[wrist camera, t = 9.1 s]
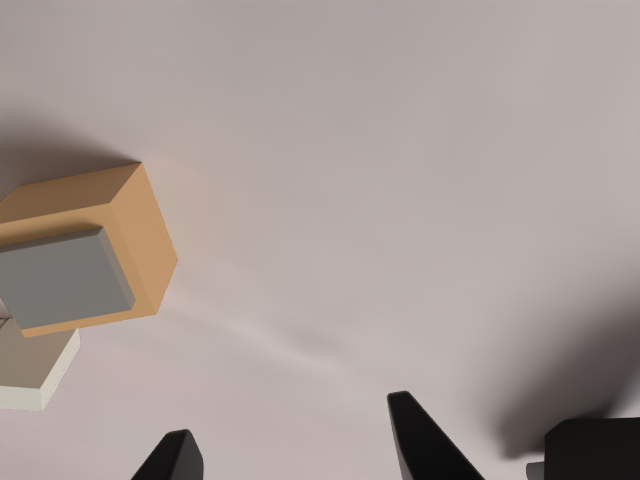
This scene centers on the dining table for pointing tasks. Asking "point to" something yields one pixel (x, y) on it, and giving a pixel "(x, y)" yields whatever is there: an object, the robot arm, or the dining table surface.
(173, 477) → the robot arm
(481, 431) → the dining table surface
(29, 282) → the orange base grey top
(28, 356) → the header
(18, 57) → the dining table surface
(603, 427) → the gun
